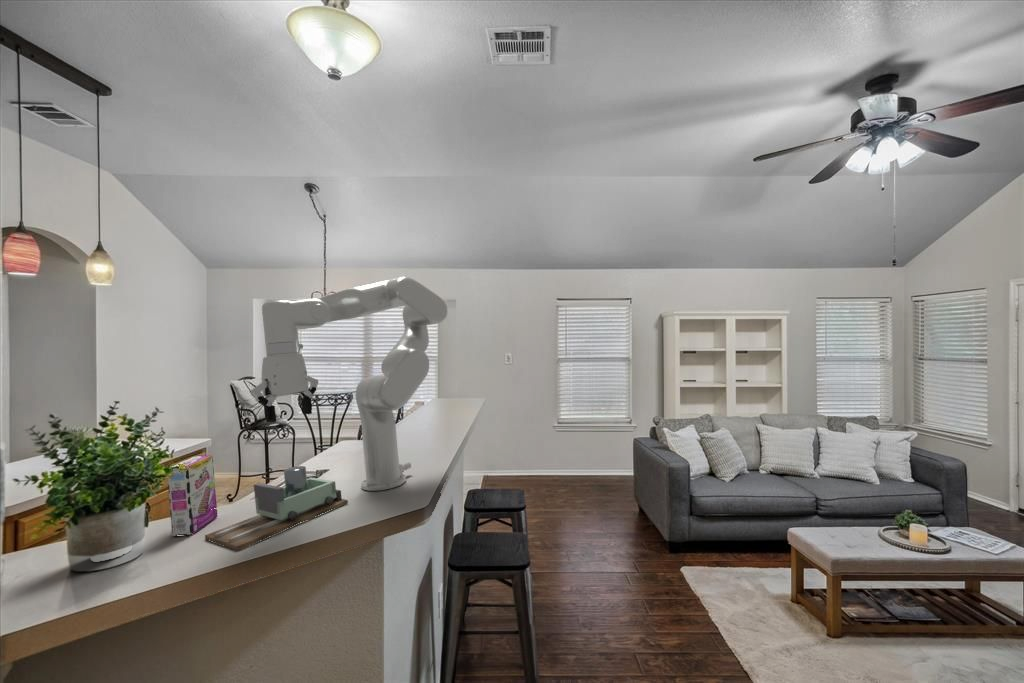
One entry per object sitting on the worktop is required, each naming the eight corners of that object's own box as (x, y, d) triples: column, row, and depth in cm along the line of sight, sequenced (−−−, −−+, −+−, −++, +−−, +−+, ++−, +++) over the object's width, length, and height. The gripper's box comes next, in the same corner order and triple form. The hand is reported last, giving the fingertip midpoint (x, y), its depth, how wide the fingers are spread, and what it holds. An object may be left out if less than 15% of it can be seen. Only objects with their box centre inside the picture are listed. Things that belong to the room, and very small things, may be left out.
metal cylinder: (300, 495, 121) (298, 465, 121) (312, 498, 119) (309, 467, 119) (282, 502, 117) (279, 471, 117) (294, 505, 115) (291, 473, 114)
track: (315, 497, 130) (313, 485, 130) (347, 503, 122) (346, 490, 122) (205, 539, 106) (203, 524, 106) (237, 551, 99) (236, 535, 99)
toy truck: (310, 494, 128) (307, 466, 128) (339, 500, 121) (336, 470, 121) (254, 515, 115) (251, 484, 115) (283, 523, 108) (280, 489, 108)
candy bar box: (194, 535, 109) (187, 466, 109) (171, 538, 109) (164, 468, 109) (219, 516, 121) (213, 453, 120) (199, 519, 120) (192, 455, 120)
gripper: (305, 347, 127) (311, 410, 127) (239, 353, 112) (247, 424, 112) (322, 346, 123) (328, 411, 123) (257, 352, 108) (264, 426, 108)
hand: (289, 417), depth 118 cm, fingers open, 9 cm apart
